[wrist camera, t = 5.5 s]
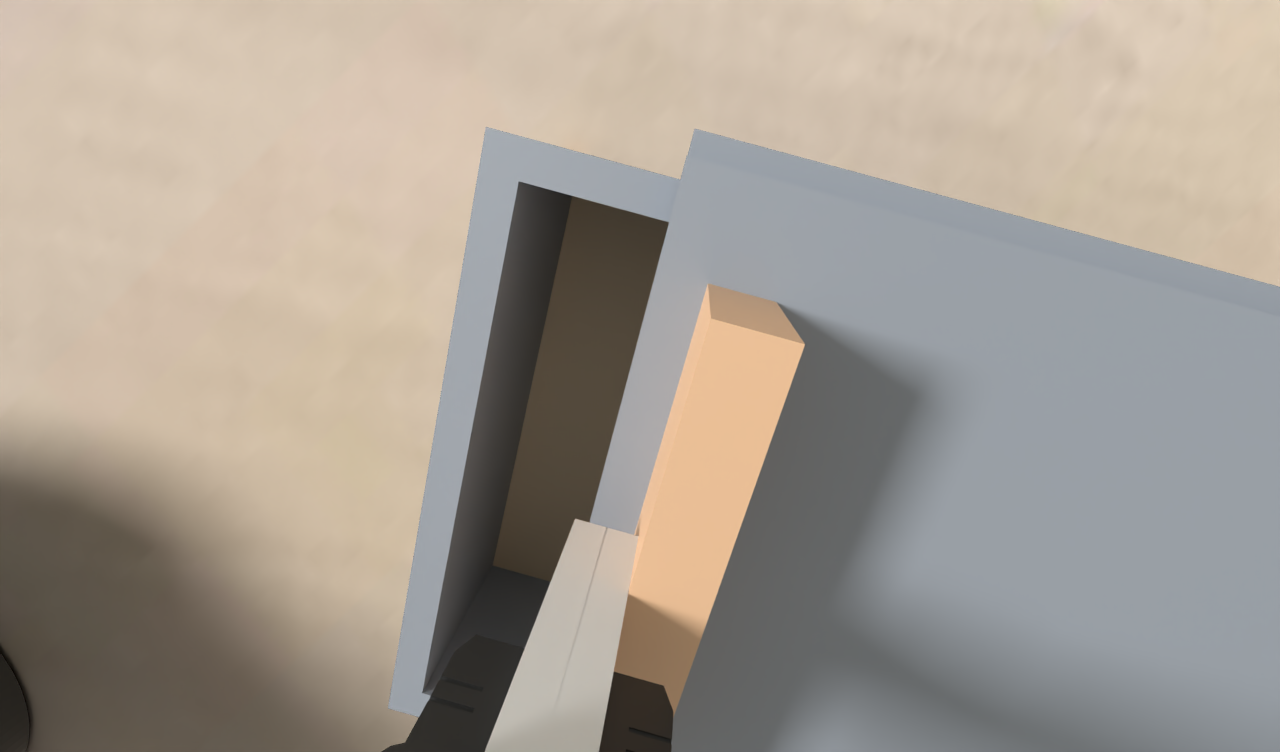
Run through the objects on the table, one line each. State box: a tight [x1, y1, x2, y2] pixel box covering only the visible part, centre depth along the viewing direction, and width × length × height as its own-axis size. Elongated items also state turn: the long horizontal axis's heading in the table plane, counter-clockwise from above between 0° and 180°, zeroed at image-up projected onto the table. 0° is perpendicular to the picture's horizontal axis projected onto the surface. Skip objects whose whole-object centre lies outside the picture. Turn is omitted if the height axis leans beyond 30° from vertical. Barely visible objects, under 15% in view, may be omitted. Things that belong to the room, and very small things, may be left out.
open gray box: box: [388, 127, 680, 717], centre depth 21 cm, size 18×18×8 cm
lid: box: [589, 129, 1280, 752], centre depth 15 cm, size 19×20×6 cm
